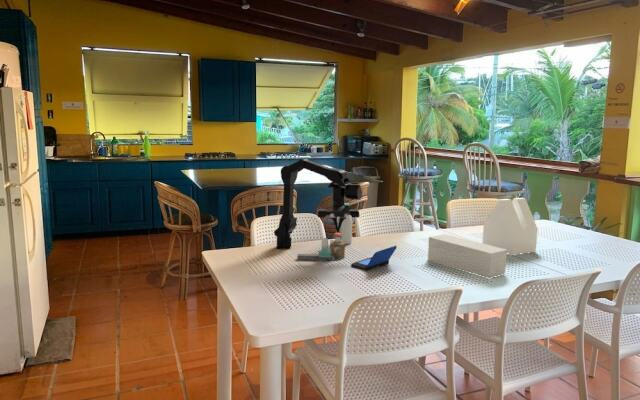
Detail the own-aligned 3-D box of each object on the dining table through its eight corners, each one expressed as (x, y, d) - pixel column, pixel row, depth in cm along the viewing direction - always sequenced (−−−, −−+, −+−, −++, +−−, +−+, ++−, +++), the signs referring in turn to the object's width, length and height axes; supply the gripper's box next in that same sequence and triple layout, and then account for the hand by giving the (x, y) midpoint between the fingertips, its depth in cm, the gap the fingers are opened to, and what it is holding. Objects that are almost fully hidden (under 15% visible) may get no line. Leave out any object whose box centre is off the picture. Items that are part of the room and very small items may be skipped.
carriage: (319, 257, 217) (319, 240, 216) (318, 254, 222) (319, 237, 221) (330, 257, 218) (331, 240, 216) (330, 254, 222) (330, 237, 221)
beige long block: (427, 260, 222) (428, 236, 220) (443, 256, 228) (444, 234, 227) (489, 279, 197) (491, 253, 195) (505, 275, 203) (507, 249, 201)
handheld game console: (372, 259, 222) (372, 239, 220) (397, 266, 213) (398, 245, 211) (349, 267, 211) (350, 245, 209) (374, 274, 202) (375, 252, 200)
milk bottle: (351, 241, 254) (352, 202, 250) (351, 244, 246) (352, 205, 243) (336, 240, 254) (337, 201, 251) (335, 244, 247) (336, 204, 243)
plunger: (334, 245, 225) (334, 234, 224) (333, 243, 228) (333, 232, 227) (341, 245, 225) (341, 234, 224) (340, 243, 228) (340, 233, 227)
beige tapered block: (482, 246, 249) (485, 196, 244) (504, 243, 255) (508, 195, 251) (512, 255, 232) (516, 203, 227) (535, 252, 238) (540, 201, 234)
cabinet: (331, 257, 223) (331, 244, 222) (330, 252, 231) (330, 240, 230) (344, 257, 223) (344, 244, 222) (343, 252, 231) (343, 240, 230)
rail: (297, 260, 218) (297, 255, 218) (297, 258, 221) (297, 253, 221) (333, 260, 219) (334, 255, 219) (333, 258, 222) (333, 254, 221)
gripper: (318, 200, 215) (317, 235, 217) (361, 201, 215) (360, 236, 218) (317, 196, 226) (316, 230, 228) (358, 197, 226) (357, 230, 229)
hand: (337, 231), depth 226 cm, fingers closed
